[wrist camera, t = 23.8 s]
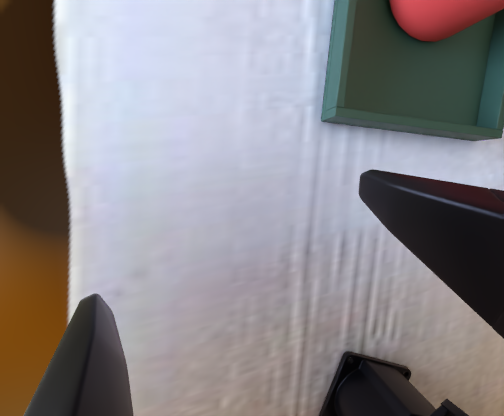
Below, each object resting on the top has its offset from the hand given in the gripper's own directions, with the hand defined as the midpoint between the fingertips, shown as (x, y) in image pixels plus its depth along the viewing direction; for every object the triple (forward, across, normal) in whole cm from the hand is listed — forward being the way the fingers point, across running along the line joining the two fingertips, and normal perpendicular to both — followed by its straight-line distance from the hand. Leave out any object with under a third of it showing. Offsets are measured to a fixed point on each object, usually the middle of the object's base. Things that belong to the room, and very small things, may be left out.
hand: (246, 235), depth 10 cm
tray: (+12, -20, -2) cm, 24 cm away
